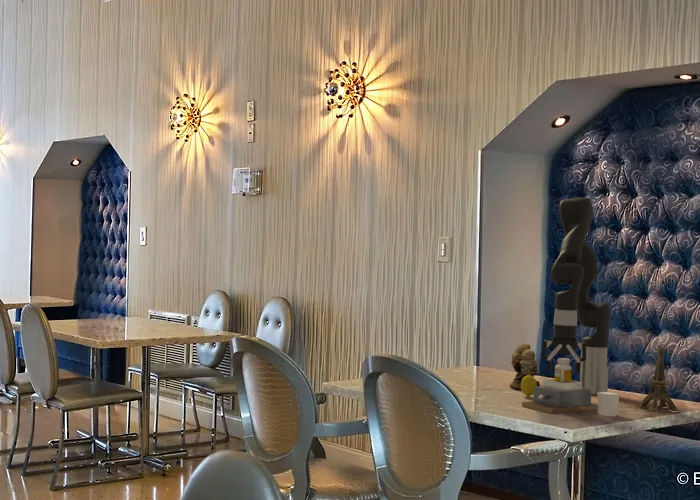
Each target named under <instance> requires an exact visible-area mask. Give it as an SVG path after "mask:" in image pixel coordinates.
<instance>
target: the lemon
mask: <svg viewBox="0 0 700 500" xmlns="http://www.w3.org/2000/svg"><path fill="white" fill-rule="evenodd" d="M536 381H537V379H536V378H535V377H534V376H531V375H527V376H525V377H524V378H523V379H522V381H521V391H520V392H522V394H523V395H524V396H526V397H527V398H530V397H531V396H532V395H533V396H534V387H537V383H536Z"/></svg>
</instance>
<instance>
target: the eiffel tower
mask: <svg viewBox="0 0 700 500" xmlns="http://www.w3.org/2000/svg"><path fill="white" fill-rule="evenodd" d="M660 337H662V334H661V336H660ZM659 344H660V345H659V346H658V347H656V348H657V349H656V351H657V358H656V364H655V370H654V376H653V378H651V380H650V382H651V387H650V390H649V391H647V395H646V396H645V397H644V398H643V399H642V400H641V402H639V405H637V406H636V408H637V407H639V408H638V409H645V408H647V410H646V412H648V411H650V412H649V413H651V412H656V411H658V412H659V410H658V407H661V408H662V407H668V408H669V410H672V411H679V409H678V408H677V406H676V405H675V403H674V402H673V399H672V398H671V397H670V394H669V392H668V387H667V384H668V380H667V379H666V374H665V373H666V372H665V363H664V352H666V349H665V347H662V343H659ZM650 402H652V403H651V404H650ZM658 402H659V403H658ZM649 404H650V406H649V408H648V405H649ZM661 408H660V409H661Z"/></svg>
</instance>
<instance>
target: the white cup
mask: <svg viewBox="0 0 700 500" xmlns="http://www.w3.org/2000/svg"><path fill="white" fill-rule="evenodd" d="M620 394H621V393H618V392H614V391H613V392H612V391H608V392H597V395H596V396H597V404H598V410H597V411H598V413H597V414H598V416H602V415H603V417H617V416H618V415H617V414H618V407H619V400H620ZM616 415H617V416H616Z"/></svg>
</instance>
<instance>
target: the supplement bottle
mask: <svg viewBox="0 0 700 500" xmlns="http://www.w3.org/2000/svg"><path fill="white" fill-rule="evenodd" d="M570 362H571V359H570V358H564V357H562V358H561V357H560V358H559V357H558V358H557V361H556V363H557V364H556V365H555V367H554V379H555V381H556V382H561V383H567V382H571V380H572V376H573V375H572V374H573V373H572V371H573V368H572V366H571V365H570Z"/></svg>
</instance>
